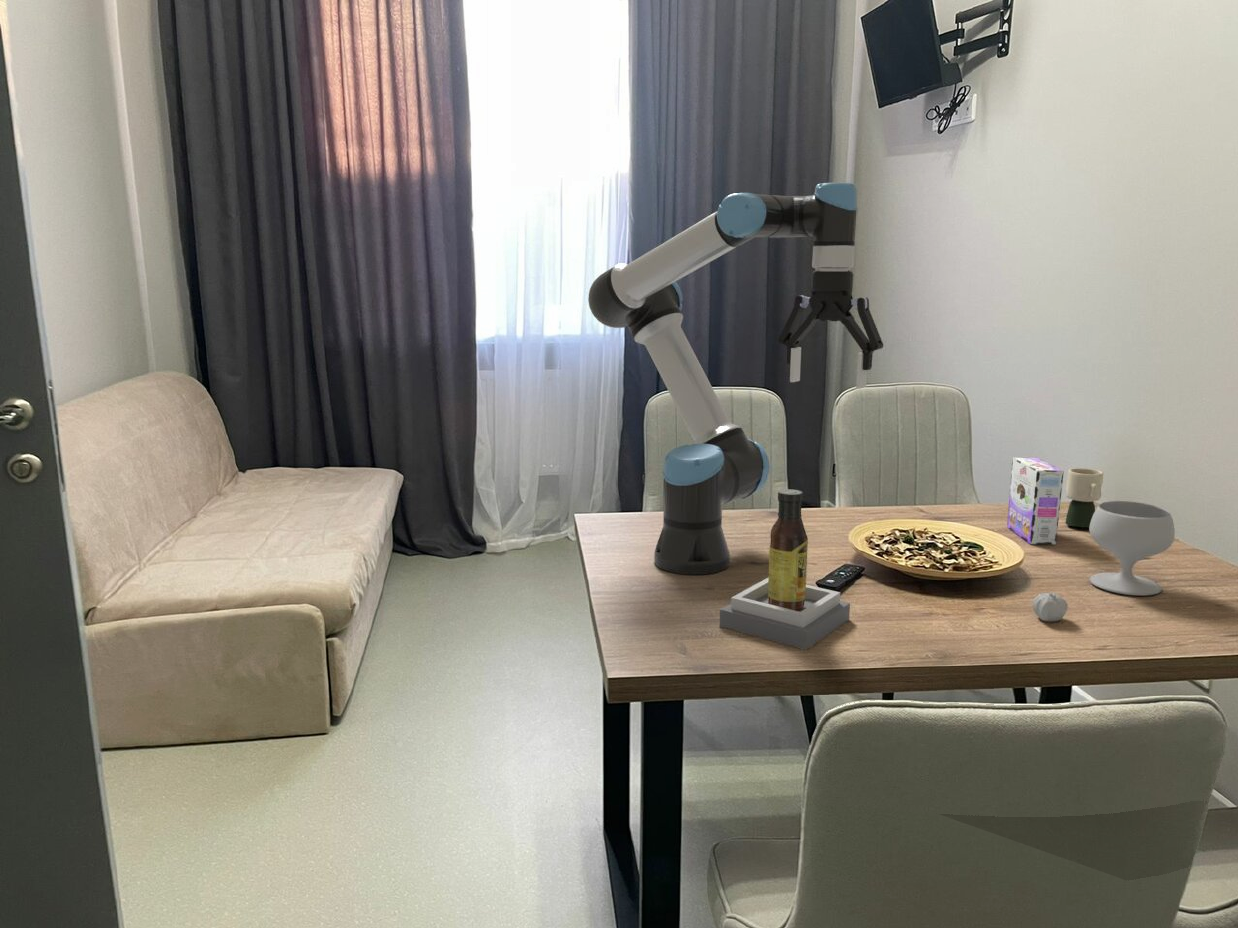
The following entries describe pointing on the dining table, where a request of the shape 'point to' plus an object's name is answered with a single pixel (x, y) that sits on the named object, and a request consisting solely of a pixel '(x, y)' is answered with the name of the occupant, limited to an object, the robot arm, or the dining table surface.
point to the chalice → (1130, 542)
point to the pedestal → (785, 616)
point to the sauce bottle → (788, 554)
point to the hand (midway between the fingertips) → (827, 384)
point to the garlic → (1049, 606)
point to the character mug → (1082, 495)
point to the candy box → (1035, 500)
